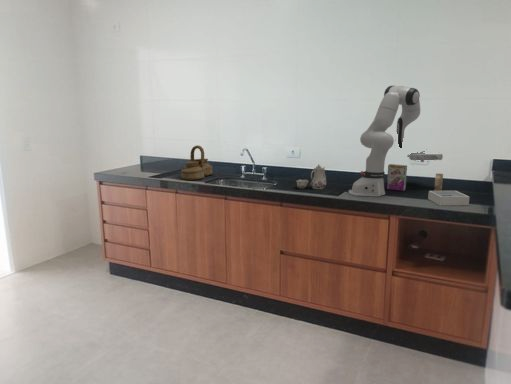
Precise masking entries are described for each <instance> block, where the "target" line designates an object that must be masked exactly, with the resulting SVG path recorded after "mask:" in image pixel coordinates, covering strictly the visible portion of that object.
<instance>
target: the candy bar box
mask: <svg viewBox="0 0 511 384" xmlns="http://www.w3.org/2000/svg"><path fill="white" fill-rule="evenodd" d="M407 170H408V165H405V164H394V163H393V164H392V163H390V164H388V166H387V175H386V176H387V177H386V178H387V180H386V190H391V191H398V192H399V191H401V192H404V191H406V185H407V175H408V173H407Z"/></svg>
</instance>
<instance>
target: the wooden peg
mask: <svg viewBox="0 0 511 384" xmlns="http://www.w3.org/2000/svg"><path fill="white" fill-rule="evenodd" d="M434 177H435V178H434V179H435V180H434V190H433V191H443V190H442V189H443V179H444V178H443V177H444V174H443V173H435V176H434Z"/></svg>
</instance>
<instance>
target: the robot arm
mask: <svg viewBox="0 0 511 384" xmlns="http://www.w3.org/2000/svg"><path fill="white" fill-rule="evenodd" d="M420 97H421V96H420V92H419V90H418V89H417V88H414V87H409V86H404V85H389V86H388V87H386V89H384V93H383V98H382V99H381V101H380V104H379V106H378V108H377V111H376V115H375V116H374V118H373V121H372V122H371V124H370V125H369V127H368V128H367V129H366V130H365V131H364V132H363V133H362V134H361V135H360V139H359V140H360V143H361V145H362V146H364V147H365V148H368V149H371V150H370V153H369V155H368V156H367V157H366V158H365V159H366V160H365V170H364V171H363V170H361V171H360V173H359V174H360V175H362V176H361V177H360V178H359V179H357V180H356V181H355V182H353V184H352V188H351V189H349V190H348V192H349V193H348V194H349V195H351V196H353V197H354V196H355V197H381V196H385V195H386V191H385V176H386V174H385V172H386V171H385V164H386V163H385V161H386V157H387V154H388V152H389V150H390V149H391V148H392V147H393V145H394V144H395V140H394V136H393V135H392V134H390V133H389V132H386V131H387V130H388V129H389V128H390V127H391V126H392V125H393V123H394V122H395V121H394V120H395V117H396V115H397V114H398V113H397V112H398V109H399V105H400V106H401V112H400V113H401V114H400V116H399V118H397V121H396V132H397V134H398V144H399V147H400V148H402V142H403V138H405V130H406V128H407V127H409V125H410V124H412V123H413V122H415V121H416V120H417V119H418V118H419V117H420V115H421V103H420ZM423 152H425V151H422V152H420V153H418V152H417V153H411V154H410V155H409V154H407V155H406V157H408V158H409V160H410V161H416V160H434V161H442V160H443V157H444V156H443V153H441V154H425V153H423Z"/></svg>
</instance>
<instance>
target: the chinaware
mask: <svg viewBox="0 0 511 384" xmlns="http://www.w3.org/2000/svg"><path fill="white" fill-rule="evenodd" d="M325 169H326V166H324V167H322V166H321V165H320V164H317V166H316V167H314V168H313V170H312V171H311V173H310V179H311V180H308V179H298V180H295V182H296V184H297V185H296V186H297V187H298V189H300V190H301V189H305V188H306V187H307V185H308V184H309V185H310V186H311V189H313V190H324V189H325V187H326V186H327V182H328V179H327V177H326V172H325ZM313 173H314V174H313ZM309 182H310V183H309Z"/></svg>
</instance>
